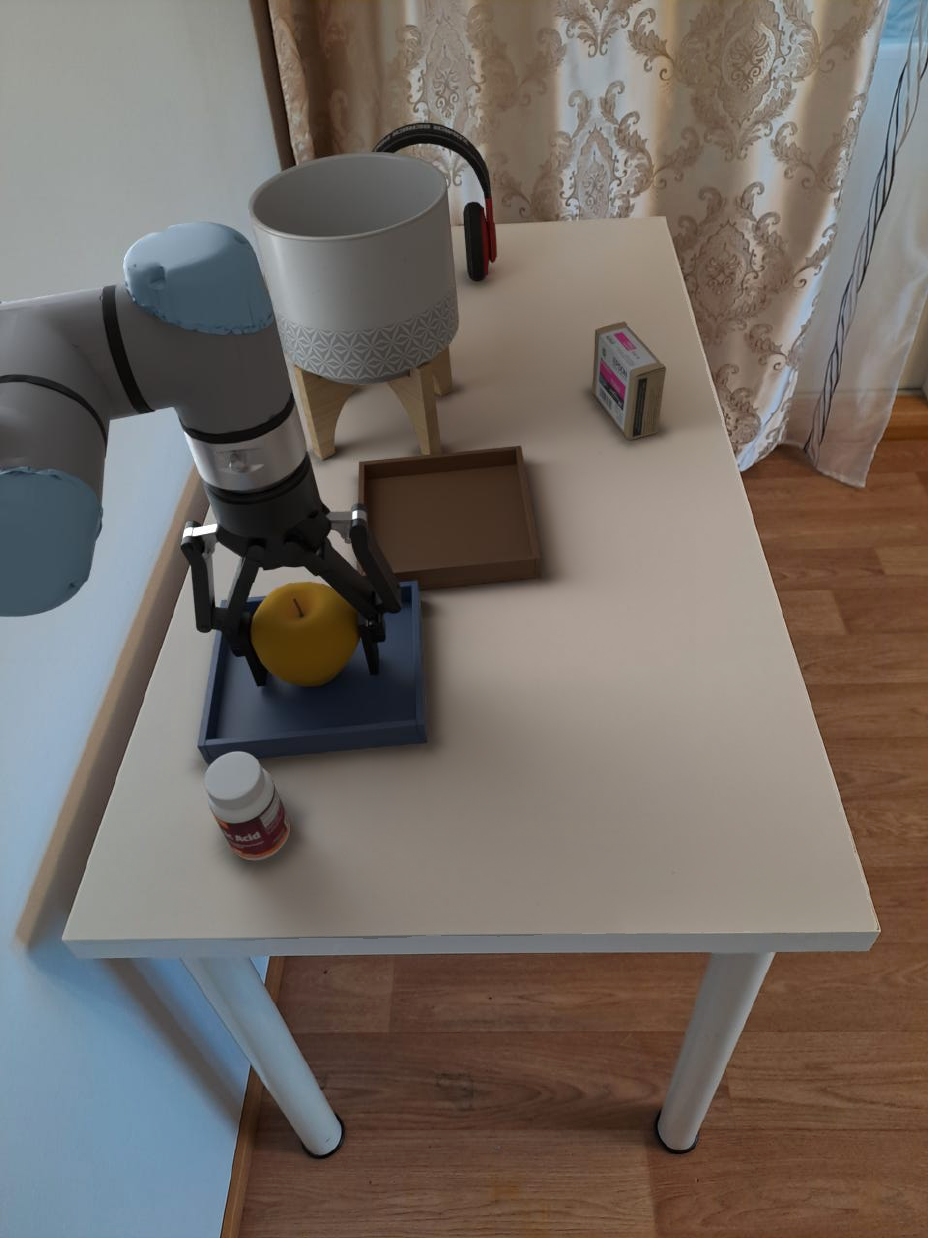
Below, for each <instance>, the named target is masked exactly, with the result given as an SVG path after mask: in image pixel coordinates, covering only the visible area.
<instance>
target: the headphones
mask: <svg viewBox="0 0 928 1238" xmlns="http://www.w3.org/2000/svg"><path fill="white" fill-rule="evenodd" d="M416 145H434V146H439V147H441V148H446V149H447V150H450V151H452V152H454V153H455V154H458V155H459V156H460V158H462V159H464V160H465V161H466V162H467V164H468V165H469V166H470V167H471V169H472V170H473V172H474V174H475V176H476V178H477V180H478V182H479V186H480V187H481V190H482V193H483V198H484V205H485V207H484V206H483V205H481V204H480V202H478V201H470V202H467V203H466V204H465V205H464V207H463V212H462V218H463V220H462V221H463V233H464V245H465V248H464V249H465V260H466V271H467V275H468V277H469V279H470V280H472V281H473V282H481V281H484V280H485V279H486V277H487V276H488V275H489V267H490V263H491V264H494V263H495V262H496V260H497V258H498V245H497V231H496V223H495V222H494V205H493V196H492V188H491V178H490V172H489V169H488V167H487V163H486V161H485V160H484V157H483V156H482V154H481V152H479V150H478V149H477V147H476V146H475V145H474V144H473V143H472V142H471V141H470V140H468V138H467V137H466V136H465V135H463V134H461V133H460V132H458V131H457V130H456V129H453V128H451V127H448V126H446V125H445V124H440V123H435V122H414V123H410V124H409V123H408V124H405V125H403V126H401V127H400V126H399V127H398V128H395V129H394V130H392V131H391V132H389V133H388V134H386V135H385V136H384V137H383V138H382V139H380V140H379V141H378V142H377V144H376V145H375V146H374V147H373V149H372V150H371V152H388V153H397V152H398V151H400V150H402V149H404V148H408V147H410V146H416Z"/></svg>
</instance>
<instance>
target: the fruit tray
mask: <svg viewBox="0 0 928 1238" xmlns="http://www.w3.org/2000/svg"><path fill="white" fill-rule="evenodd" d="M399 584H400V586H401V611H400V612H399V613H397V614H391V613H389V612H387V613H385V614H384V619H385V624H386V639H385V642H380V643H377V644H378V649H379V675H370V672H369V668H368V664H367V660H366V656H365V652H364V648H363V644H362V640H361V637H360V641H359V643H358V645H357V647H356V649H355V651H354V653H353V655H352V657H351V658H350V660H349V661H348V663H347V665H346V666H345V667H344V668H343V669H342V670H341V671H340V672H339V674H338V675H337V676H336V677H335V678H333V679H332V680H331V681H330V682H328V683H325V684H323V685H321V686H311V687H310V686H299V685H295V684H291V683H287V682H284V681H282V680H281V679H279V678H278V677H276V676H274V675H273V674H271V673H270V672H269V671H268V670H267V679H266V686H259V687H257V685H256V683H255V680H254V678H253V675H252V673H251V670H250V668H249V665H248V663H247V660H246V658H245V656H244V657H236V656H235V655H234V654H233V653H232V651H231V648H230V646H229V644H228V641H227V639H226V636H225V635H224V634H222V632H221V631H219V630H215V635H214V642H213V647H212V648H213V649H212V654H211V661H210V665H209V673H208V678H207V686H206V691H205V697H204V703H203V710H202V716H201V723H200V729H199V734H198V740H197V741H198V742H197V748H198V750H199V752H200V755H201V756H202V758H203V760H204V762H205V764H206V765H211V764H212V763H213V762H214V761H215V760H216V759H218V758H219V757H220V756H222V755H225V754H227V753H231V752H246V753H249V754H251V755H252V756H254V757H255V758H256V759H257V760H263V759H272V758H283V757H294V756H303V755H305V756H306V755H313V754H316V755H317V754H324V753H326V754H327V753H335V752H346V751H356V750H364V749H365V750H366V749H376V748H386V747H387V748H388V747H397V746H398V747H399V746H406V745H416V744H417V745H418V744H427V743H428V730H427V729H428V728H427V705H426V685H425V665H424V664H425V662H424V659H425V658H424V641H423V639H424V638H423V636H424V635H423V618H422V598H421V591H420V590H419V585H418V581H412V582H411V581H410V582H400V583H399ZM266 596H267V595H260V596H248V599H247V602H246V605H245V608H244V611H243V613H244V612H250V614H251V616H252V619H253V617H254V614H255V613H256V611H257V609H258V607H259V606H260V604H261V603H262V602H263V600H264V599H265V598H266ZM225 601H227V599H221V600H220V605H219V607H221V608H224V607H225ZM357 612H358V611H357Z"/></svg>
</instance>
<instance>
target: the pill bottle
mask: <svg viewBox="0 0 928 1238" xmlns="http://www.w3.org/2000/svg"><path fill="white" fill-rule="evenodd" d="M203 780H204V781H203V784H204V788H205V791H206V793H207V802H208V807H209V810H210V812H211V813H212V815H213V817H214V819H215V822H216V823H217V824H218V827H219V829H220V831H221V833H222V834H223V836H224V838H225V839H226V841H227V843H228V845H229V846H230V848H231V851H233V853H234V854H235V855H236V856H238V857H240V858H241V859H244V860H248V861H261V860H265V859H267V858H270V857H272V856H274V855H275V854H277V853H278V852H279V851H280V850H281V849H283V847H284V846H285V844H286V843H287V841H288V839H289V837H290V833H291V823H290V822H291V821H290V818H289V816H288V813H287V812H286V809H285V806H284V804H283V801H282V799H281V797H280V794H279V792H278V789H277V787H276V784H275V782H274V779H273V777H272V775H271V774H270V773H269V772H268V771H267V770H266V769H265V768H263V767H262V765H261V764H260V762H259V759H256V758H255V757H254V756H252V755H251V754H249V753H246V752H231V753H227V754H225V755H222V756H220V757H219V758H218V759H216V760H215V761H214V762H213V763H212V764H209V766H208V768H206V771H205V773H204V778H203Z"/></svg>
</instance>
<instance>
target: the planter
mask: <svg viewBox="0 0 928 1238" xmlns="http://www.w3.org/2000/svg"><path fill="white" fill-rule="evenodd" d="M247 210H248V216H249V219H250V223H251V227H252V231H253V234H254V238H255V242H256V243H255V244H256V247H257V250H258V251H257V252H258V255H259V258H260V262H261V267H262V270H263V275H264V280H265V284H266V288H267V292H268V295H269V296H270V298H271V301H272V306H273V310H274V314H275V318H276V323H277V327H278V331H279V335H280V339H281V344H282V348H283V352H284V354H285V355H286V357H287V358H288V359H289V361H291V362H292V364H294V365H293V366H292V368H293V372H294V377H295V379H296V385H297V388H298V392H299V396H300V400H301V405H302V409H303V412H304V413H303V414H304V416H305V420H306V424H307V428H308V432H309V438H310V441H311V444H312V448H313V453H314V455H315V456H316V457H317V458H319V459H320V460H321V461H323V460H326V459H327V458H329V457H331V456H333V455H334V454H336V448H335V436H336V428H337V424H338V420H339V419H340V418H339V417H340V415H341V412H342V410H343V408H344V406H345V405H346V403H347V401H348V399H349V398H350V396H351V395H352V394H353V393H354V392H355V390H356V389H357V388H358V387H359V386H360V385H361V386H362V385H376V384H382V383H386V384H387V385H388V386H389V387H390V388H391V390H392V391H393V392H394V394H395V395H396V396H397V398H398V399H399V401H400V402H401V404H402V406H403V407H404V409H405V411H406V413H407V415H408V417H409V419H410V422H411V423H412V426H413V429H414V431H415V435H416V437H417V440H418V445H419V451H420V454H422V455H432V454H442V453H443V451H442V450H443V449H442V442H441V434H440V427H439V425H440V424H439V419H438V418H439V417H438V416H439V415H438V409H437V401H436V400H437V399H436V394H437V395H438V396H440V397H442V396H445V395H447V394H449V393H450V392H452V391H454V384H453V375H452V365H451V354H450V344H451V343H452V342H453V340H454V339H455V338H456V336H457V333H458V331H459V326H460V315H459V304H458V303H459V302H458V292H457V281H456V270H455V269H456V268H455V259H454V248H453V247H454V246H453V236H452V223H451V214H450V201H449V189H448V182H447V177H446V176H445V174H444V173H443V171H442V170H441V169H440V168H438V166H436V165H435V164H433V163H432V162H429V161H427V160H425V159H423V158H420V157H417V156H413V155H408V154H403V153H397V152H395V153H388V152H372V151H367V152H366V151H361V152H351V153H342V154H336V155H334V154H333V155H330V156H325V157H320V158H319V157H318V158H315V159H312V160H309V161H304V162H302V163H299V164H297V165H293V166H292V167H288V168H286V169H285V170H281V171H280V172H278V173H276V174H275V175H272V176H271V177H270V178H268V179H266V180H265V181H264V182H263V183H261V184H259V186H258V187H257V188H256V189H255V190H254V192H253V193H252V194H251V196H250V198H249V200H248V205H247Z"/></svg>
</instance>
